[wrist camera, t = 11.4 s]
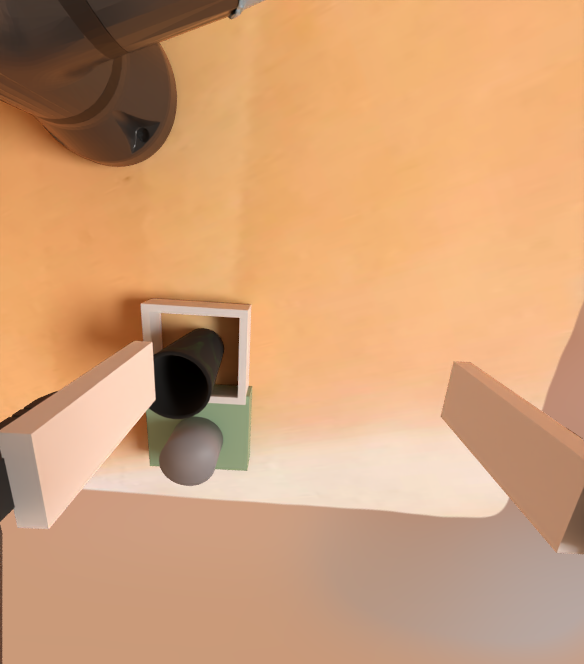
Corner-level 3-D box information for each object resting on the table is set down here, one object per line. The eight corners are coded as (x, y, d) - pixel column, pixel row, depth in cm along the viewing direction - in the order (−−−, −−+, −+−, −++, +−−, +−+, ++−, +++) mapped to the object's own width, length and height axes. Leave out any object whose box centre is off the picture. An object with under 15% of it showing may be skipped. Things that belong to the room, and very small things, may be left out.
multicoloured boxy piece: (148, 298, 42) (117, 311, 34) (254, 304, 42) (247, 319, 34) (158, 452, 48) (133, 492, 41) (249, 456, 49) (242, 497, 41)
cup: (188, 379, 45) (154, 427, 34) (167, 330, 43) (122, 363, 31) (239, 364, 45) (222, 408, 33) (220, 314, 42) (194, 342, 31)
